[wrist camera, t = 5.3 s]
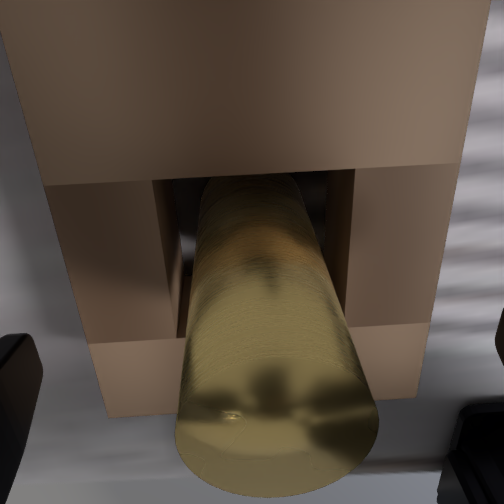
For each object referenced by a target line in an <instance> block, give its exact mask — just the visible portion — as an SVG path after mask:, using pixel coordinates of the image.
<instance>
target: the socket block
mask: <svg viewBox="0 0 504 504" xmlns="http://www.w3.org/2000/svg"><path fill="white" fill-rule="evenodd" d="M490 4H491V0H0V32H1V36H2V39H3V43H4V46H5V50H6V54H7V57H8V61H9V64H10V68H11V71H12V75H13V79H14V82H15V86H16V89H17V93H18V96H19V100H20V104H21V107H22V111H23V114H24V118H25V122H26V125H27V129H28V132H29V136H30V139H31V143H32V147H33V150H34V154H35V157H36V161H37V164H38V168H39V172H40V175H41V179H42V182H43V186H44V189H45V193H46V197H47V200H48V204H49V207H50V211H51V215H52V218H53V222H54V225H55V229H56V232H57V236H58V240H59V243H60V247H61V250H62V254H63V257H64V261H65V265H66V268H67V272H68V275H69V279H70V282H71V286H72V290H73V293H74V297H75V300H76V304H77V308H78V311H79V315H80V318H81V322H82V325H83V329H84V333H85V336H86V340H87V343H88V347H89V350H90V354H91V358H92V361H93V365H94V368H95V372H96V375H97V379H98V383H99V386H100V390H101V393H102V397H103V401H104V404H105V408H106V411H107V415H108V418H119V417H134V416H149V415H164V414H177V409H178V400H179V391H180V382H181V373H182V364H183V355H184V346H185V337H186V328H187V319H188V310H189V302H190V293H191V284H192V276H185V273H184V266H183V258H182V251H181V243H180V235H179V228H178V220H177V213H176V205H175V198H174V190H173V183H172V179H176V178H194V177H212V176H231V175H249V174H267V173H285V172H303V171H321V170H327V192H326V216H325V240H324V261H325V264H326V267H327V269H328V272H329V275H330V278H331V281H332V284H333V286H334V289H335V292H336V295H337V298H338V300H339V303H340V306H341V309H342V312H343V315H344V317H345V320H346V323H347V326H348V329H349V332H350V334H351V337H352V340H353V343H354V346H355V349H356V351H357V354H358V357H359V360H360V363H361V365H362V368H363V371H364V374H365V377H366V380H367V382H368V385H369V388H370V391H371V394H372V397H373V399H374V401H375V400H390V399H405V398H416V395H417V390H418V385H419V379H420V374H421V369H422V364H423V358H424V353H425V348H426V342H427V337H428V332H429V327H430V321H431V316H432V311H433V305H434V300H435V295H436V290H437V284H438V279H439V274H440V268H441V263H442V258H443V253H444V247H445V242H446V237H447V231H448V226H449V221H450V215H451V210H452V205H453V200H454V194H455V189H456V184H457V178H458V173H459V168H460V163H461V157H462V152H463V147H464V141H465V136H466V131H467V126H468V120H469V115H470V110H471V104H472V99H473V94H474V89H475V83H476V78H477V73H478V67H479V62H480V57H481V51H482V46H483V41H484V36H485V30H486V25H487V20H488V14H489V9H490Z"/></svg>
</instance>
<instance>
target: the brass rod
mask: <svg viewBox="0 0 504 504" xmlns="http://www.w3.org/2000/svg"><path fill="white" fill-rule="evenodd" d="M378 429H379V417H378V411H377V408H376V405H375V402H374V399H373V397H372V394H371V391H370V388H369V385H368V382H367V380H366V377H365V374H364V371H363V368H362V365H361V363H360V360H359V357H358V354H357V351H356V349H355V346H354V343H353V340H352V337H351V334H350V332H349V329H348V326H347V323H346V320H345V317H344V315H343V312H342V309H341V306H340V303H339V300H338V298H337V295H336V292H335V289H334V286H333V284H332V281H331V278H330V275H329V272H328V269H327V267H326V264H325V261H324V258H323V255H322V252H321V250H320V247H319V244H318V241H317V238H316V235H315V233H314V230H313V227H312V224H311V221H310V218H309V216H308V213H307V210H306V207H305V204H304V202H303V199H302V196H301V193H300V190H299V188H298V186H297V184H296V182H295V181H294V179H293V178H292V177H291V176H290V175H289V174H288V172H285V173H267V174H249V175H231V176H212V178H211V179H210V180H209V181H208V183H207V185H206V186H205V188H204V191H203V193H202V197H201V203H200V212H199V221H198V230H197V239H196V248H195V257H194V266H193V275H192V284H191V293H190V302H189V310H188V319H187V328H186V337H185V346H184V355H183V364H182V373H181V382H180V391H179V400H178V409H177V418H176V427H175V443H176V446H177V450H178V452H179V454H180V456H181V458H182V460H183V462H184V463H185V464H186V466H187V467H188V468H189V469H190V470H191V471H192V472H193V473H194V474H195V475H197V476H198V477H199V478H200V479H202V480H204V481H205V482H207V483H209V484H210V485H212V486H214V487H217V488H219V489H221V490H224V491H227V492H230V493H234V494H239V495H244V496H251V497H264V498H271V497H286V496H293V495H298V494H303V493H307V492H310V491H314V490H317V489H319V488H322V487H325V486H327V485H329V484H331V483H333V482H335V481H337V480H339V479H340V478H342V477H344V476H345V475H347V474H348V473H349V472H351V471H352V470H353V469H355V468H356V467H357V466H358V465H359V464H360V463H361V462H362V461H363V460H364V458H365V457H366V456H367V455H368V453H369V452H370V450H371V448H372V447H373V445H374V442H375V440H376V437H377V433H378Z"/></svg>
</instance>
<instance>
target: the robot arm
mask: <svg viewBox="0 0 504 504" xmlns="http://www.w3.org/2000/svg"><path fill="white" fill-rule="evenodd" d="M495 346H496V349H497V352H498V354H499V357H500V359H501V361H502V363H503V366H504V308H503V311H502V314H501V317H500V321H499V325H498V328H497V332H496V335H495ZM42 377H43V367H42V363H41V360H40V358H39V355H38V352H37V349H36V346H35V343H34V341H33V338H32V337H31V335H29V334H27V333H19V334H7V335H5V336H3V337H1V338H0V504H5V503H6V501H7V498H8V495H9V493H10V490H11V487H12V484H13V482H14V479H15V476H16V473H17V471H18V468H19V465H20V462H21V459H22V456H23V453H24V450H25V446H26V443H27V439H28V435H29V431H30V427H31V423H32V419H33V415H34V410H35V406H36V402H37V398H38V394H39V390H40V386H41V382H42ZM437 492H438V496H437V503H438V504H504V403H493V404H478V405H470V406H467V407H465V408H463V409H462V410H461V411H460V413H459V415H458V419H457V423H456V427H455V430H454V434H453V438H452V442H451V446H450V450H449V452H448V453H447V455H446V458H445V462H444V465H443V469H442V473H441V477H440V481H439V485H438V489H437Z"/></svg>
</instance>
